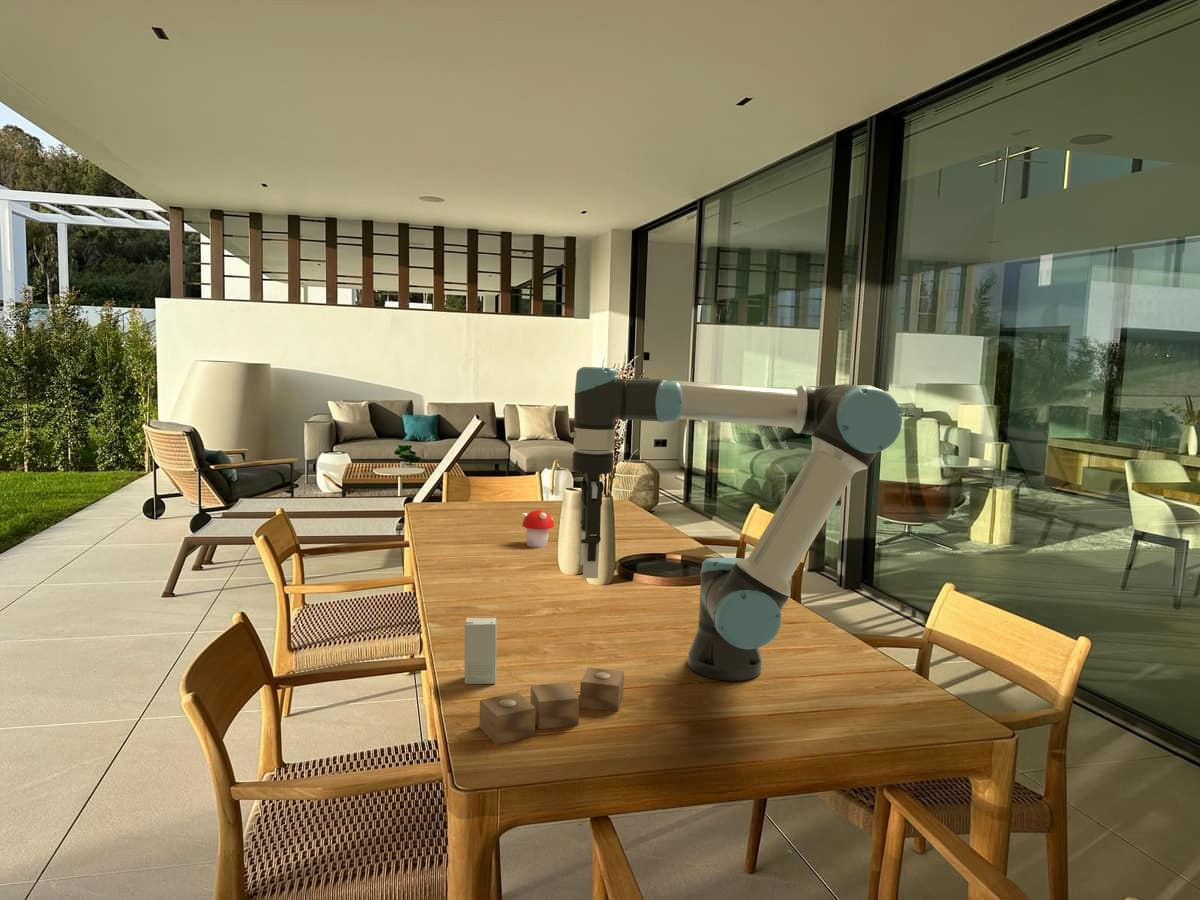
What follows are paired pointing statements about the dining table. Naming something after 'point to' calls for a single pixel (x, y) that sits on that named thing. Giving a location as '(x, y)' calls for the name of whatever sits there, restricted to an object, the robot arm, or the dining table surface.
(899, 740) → the dining table surface
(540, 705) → the plain walnut block
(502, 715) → the dotted walnut block
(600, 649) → the dining table surface
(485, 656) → the skincare box
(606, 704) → the dotted walnut block
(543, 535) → the mushroom
